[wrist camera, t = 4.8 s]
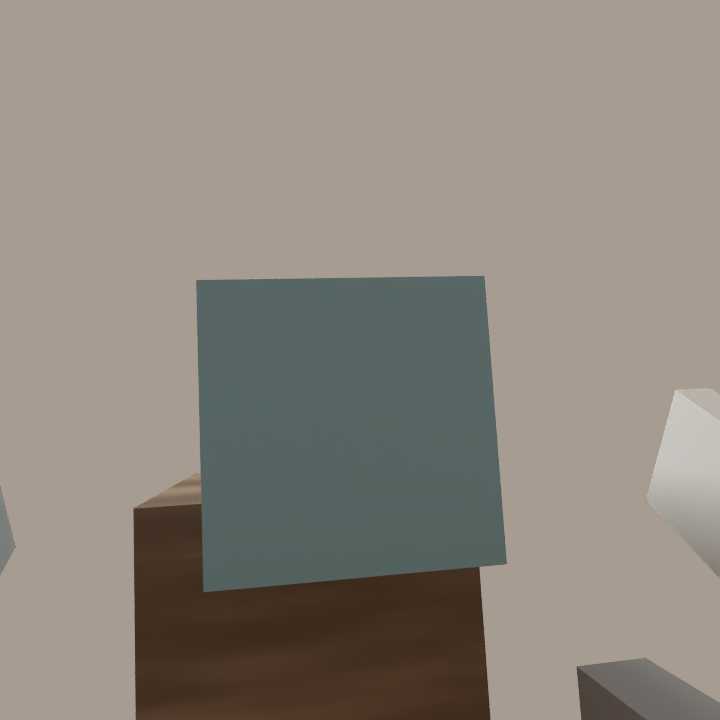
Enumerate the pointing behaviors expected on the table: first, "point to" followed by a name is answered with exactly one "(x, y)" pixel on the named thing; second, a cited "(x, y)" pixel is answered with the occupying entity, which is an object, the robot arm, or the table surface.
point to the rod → (345, 429)
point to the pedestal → (640, 693)
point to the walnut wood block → (297, 637)
